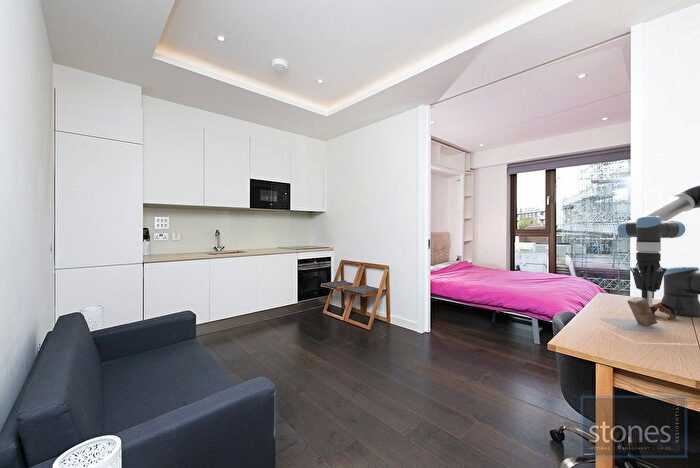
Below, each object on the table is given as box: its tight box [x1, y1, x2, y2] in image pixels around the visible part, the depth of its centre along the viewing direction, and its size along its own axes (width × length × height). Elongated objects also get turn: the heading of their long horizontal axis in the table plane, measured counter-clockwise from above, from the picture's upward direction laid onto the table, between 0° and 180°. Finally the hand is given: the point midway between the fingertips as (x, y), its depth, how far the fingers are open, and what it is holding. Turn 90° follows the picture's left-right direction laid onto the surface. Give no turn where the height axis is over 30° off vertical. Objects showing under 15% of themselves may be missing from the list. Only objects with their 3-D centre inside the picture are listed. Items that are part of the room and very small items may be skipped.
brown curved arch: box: [650, 301, 677, 321], centre depth 141 cm, size 12×10×8 cm
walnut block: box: [626, 296, 658, 327], centre depth 129 cm, size 4×4×11 cm
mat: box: [597, 317, 673, 332], centre depth 131 cm, size 18×16×1 cm
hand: (647, 305), depth 129 cm, fingers closed
